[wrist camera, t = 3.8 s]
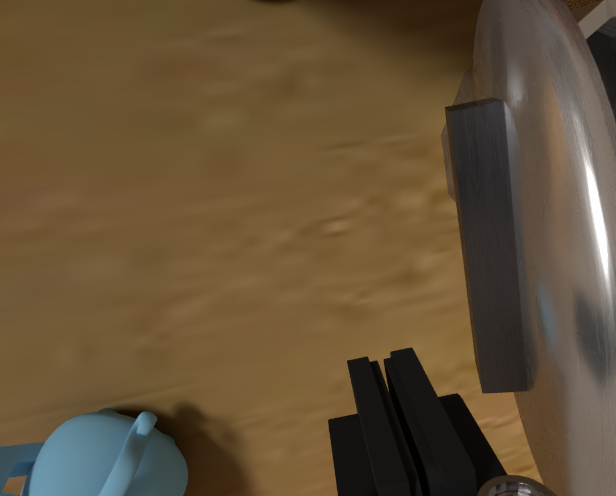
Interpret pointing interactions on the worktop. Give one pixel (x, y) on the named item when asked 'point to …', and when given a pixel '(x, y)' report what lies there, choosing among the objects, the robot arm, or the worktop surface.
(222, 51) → the worktop surface
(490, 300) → the lid
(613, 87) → the pot
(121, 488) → the teapot
